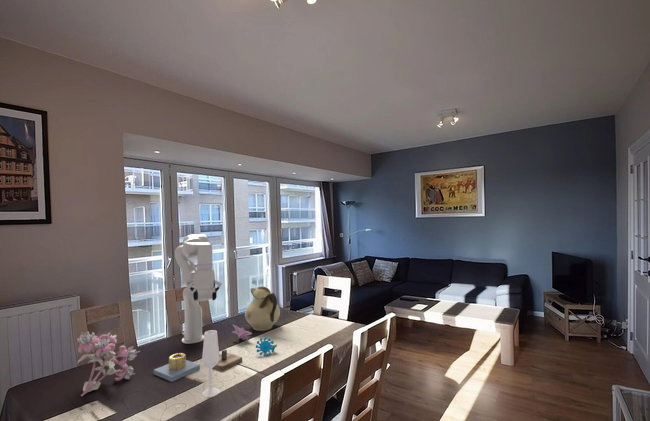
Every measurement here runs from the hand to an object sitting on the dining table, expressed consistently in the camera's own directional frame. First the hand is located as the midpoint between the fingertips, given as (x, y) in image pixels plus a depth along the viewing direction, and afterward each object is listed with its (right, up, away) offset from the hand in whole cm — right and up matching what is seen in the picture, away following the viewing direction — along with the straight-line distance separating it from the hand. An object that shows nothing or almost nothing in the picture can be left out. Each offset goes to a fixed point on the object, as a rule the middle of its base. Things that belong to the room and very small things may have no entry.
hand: (205, 299), depth 167 cm
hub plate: (-5, -28, -20) cm, 34 cm away
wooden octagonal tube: (-5, -26, -20) cm, 33 cm away
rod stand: (+14, -28, -12) cm, 33 cm away
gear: (+32, -28, -1) cm, 43 cm away
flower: (-29, -28, -30) cm, 50 cm away
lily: (+14, -29, +17) cm, 37 cm away
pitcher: (+23, -30, +40) cm, 55 cm away
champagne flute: (+17, -27, -39) cm, 50 cm away
